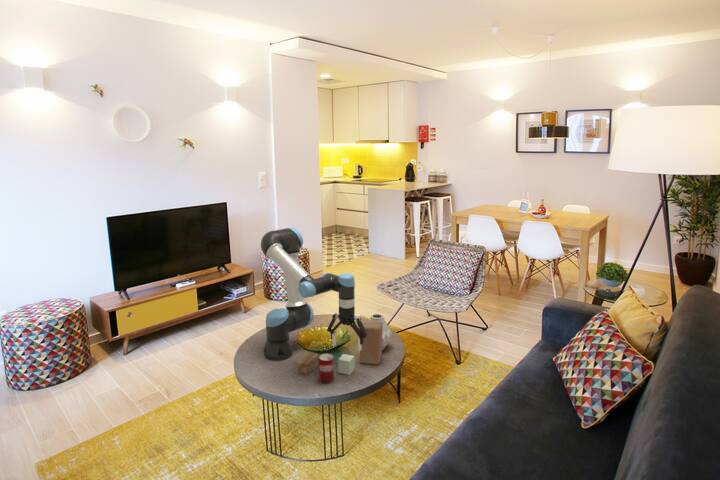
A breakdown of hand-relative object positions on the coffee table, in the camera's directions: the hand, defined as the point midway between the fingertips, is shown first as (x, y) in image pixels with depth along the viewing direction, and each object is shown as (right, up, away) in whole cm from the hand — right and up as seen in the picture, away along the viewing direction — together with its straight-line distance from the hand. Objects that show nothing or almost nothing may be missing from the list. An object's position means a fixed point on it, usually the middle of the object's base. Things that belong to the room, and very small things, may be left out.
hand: (346, 347), depth 224 cm
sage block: (0, -12, +3) cm, 12 cm away
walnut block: (-19, -12, +4) cm, 23 cm away
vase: (+15, -7, +27) cm, 32 cm away
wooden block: (+12, -10, +14) cm, 21 cm away
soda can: (-10, -14, -6) cm, 18 cm away
